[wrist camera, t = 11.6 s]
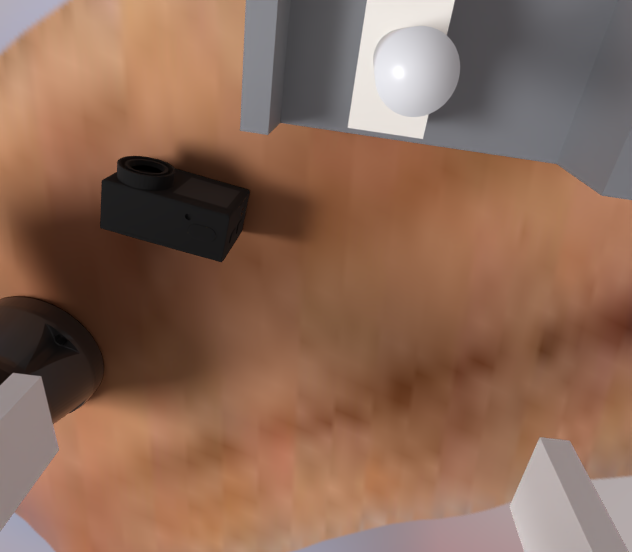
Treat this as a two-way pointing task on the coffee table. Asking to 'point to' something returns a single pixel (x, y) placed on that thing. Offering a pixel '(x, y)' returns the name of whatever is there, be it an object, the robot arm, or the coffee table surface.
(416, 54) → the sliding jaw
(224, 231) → the digital camera
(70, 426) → the coffee table surface
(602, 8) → the bench clamp
